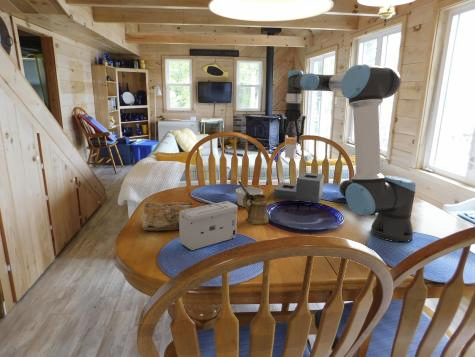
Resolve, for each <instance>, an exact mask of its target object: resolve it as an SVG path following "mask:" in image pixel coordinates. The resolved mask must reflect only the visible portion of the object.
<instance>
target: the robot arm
mask: <svg viewBox="0 0 475 357" xmlns="http://www.w3.org/2000/svg"><path fill="white" fill-rule="evenodd" d="M286 79H287V80H286V85H287V86H286V96H285V97H286V98H285V101H286V103H285V112H284V113H283V114H280V115H279V119H280V123H279V125H280V126H279V134H280V135H282V142H284V149H286V138H288V137H289V136H288V130H289V128H290V124H291V122H294V126H295V127H294V128H295V132H296V136H294V138H295V148H294V149H296V150H297V149H298V143H300V139H301V138H300V137H301V136H304V133H305V120H306V119H307V115H303V114H302V111H301V110H302V103H301V102H302V99H303V98H302V96H303V95H302V94H303V91H305V92H306V91H307V92H308V91H313V92H314V91H316V92H331V93H332V92H333V93H334V92H341V94H342V95H343V97H344V98H346V99H348V106H349V107H350V108H351V109H352V111H353V112H352V113H353V115H352V116H353V133H354V134H353V136H354V137H353V138H354V139H353V140H354V160H355V161H354V162H355V174H354V175H353V176H352V177H351V180H352V184H351V185H349V186H348V187H347V189H346V198H345V201H346V203H347V206H348V207H349V208H350V209H351V211H352V212H353V213H355V214H357V215H361V216H362V215H368V216H369V215H375V214H377V215H376V216H375V218H374V219H373V222H372V224H371V227H370V231H371V234H372V235H374V236H375V237H377V236H378V237H377V238H379V237H381V238H384V239H388V240H392V241H391V242H393V241H408V240H411V239H412V238H414V228H413V224H412V212H413V205H414V201H415V194H416V183H415V181H413V180H411V179H407V178H404V177H400V176H394V175H384V174H383V173H382V171H381V170H382V169H381V166H382V165H381V148H380V147H381V145H380V144H381V143H380V120H379V119H380V114H379V106H380V105H381V104H382V103H383V99H387V98H388V99H389V98H390V97H392V96H394V95H395V94H396V93H397V92H398V90H399V89H400V86H401V84H402V82H401V81H402V79H401V75H400V74H399V72H398V70H396V69H395V68H394V67H391V66H385V65H382V66H381V65H371V64H370V65H369V64H367V63H366V64H365V63H364V64H355V65H352V66H351V67H350V68H348V69H347V70H346V72H345V74H320V73H319V74H316V73H311V72H309V73H304V71H303V70H299V69H296V70H295V69H293V70H289V71H288V72H287V78H286ZM285 118H286V123H284V122H285ZM299 119H301V122H300V124H301V125H300V127H299ZM284 124H285V128H284ZM374 213H375V214H374ZM381 238H380V239H381ZM384 239H383V240H384ZM388 240H387V241H388ZM412 240H413V239H412ZM412 240H411V241H412ZM408 242H409V241H408Z"/></svg>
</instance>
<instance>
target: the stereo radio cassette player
mask: <svg viewBox="0 0 475 357" xmlns="http://www.w3.org/2000/svg"><path fill="white" fill-rule="evenodd" d="M191 197H194V198H197V199H199V200H201V201H203V202H207V203H209V204H206V205H200V206H197V207H192V208H191V209H186V210H181V211H180V212H179V229H178V230H179V243H180V244H182V245H183V246H184V247H186V248H187V249H188V250H190V251H192V250H193V251H195V250H198V249H201V248H204V247H208V246H212V245H215V244H218V243H222V242H225V241H228V240H232V238H233V239H235V238H236V236H237V225H238V224H237V219H238V218H237V214H238V213H237V212H238V204H235V203H233V202H231V201H229V200H226V201H221V202H217V203H216V202H215V203H214V202H213V201H209V200H206V199H203V198H200V197H198V196H196V195H193V194H191Z"/></svg>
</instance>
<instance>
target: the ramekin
mask: <svg viewBox="0 0 475 357" xmlns="http://www.w3.org/2000/svg"><path fill="white" fill-rule="evenodd" d="M245 188H246V189H247V191H248V192H249V194H252V195H256V194H262V195H264V194H263V193H264V192H263V190H262V189H260V188H257V187H251V186H247V187H246V186H245ZM235 194H236V197H235V198H236V203H237V205H239V206H240V207H244V205H243V198H244V196H245V194H246V193H245V192H244V190H243V189H242V187H239V188H238V187H237V188H235ZM247 204H248V205H249V206H250V204H251V203H250V200H248V201H247ZM244 208H245V207H244Z"/></svg>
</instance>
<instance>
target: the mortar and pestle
mask: <svg viewBox="0 0 475 357" xmlns="http://www.w3.org/2000/svg"><path fill="white" fill-rule="evenodd" d="M237 183H238V184H239V186H240V188H242V189H243V190H244V192H245V193H246V194H245V196H244V198H243V205H244V209H245V210H246V212H247V218H246V221H247V222H248V223H249V224H252V225H258V226H260V225H261V226H262V225H265V224H268V223H269V216H268V207H267V204H268V200H267V196H266V195H265V194H256V195H252V194H249V192H248V191H247V189H246V188H245V187H246V186H245V185H244V184H243V182H242V181H240V180H237ZM248 200H250V203H251V204H250V206H249V205H248V204H247V201H248Z"/></svg>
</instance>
